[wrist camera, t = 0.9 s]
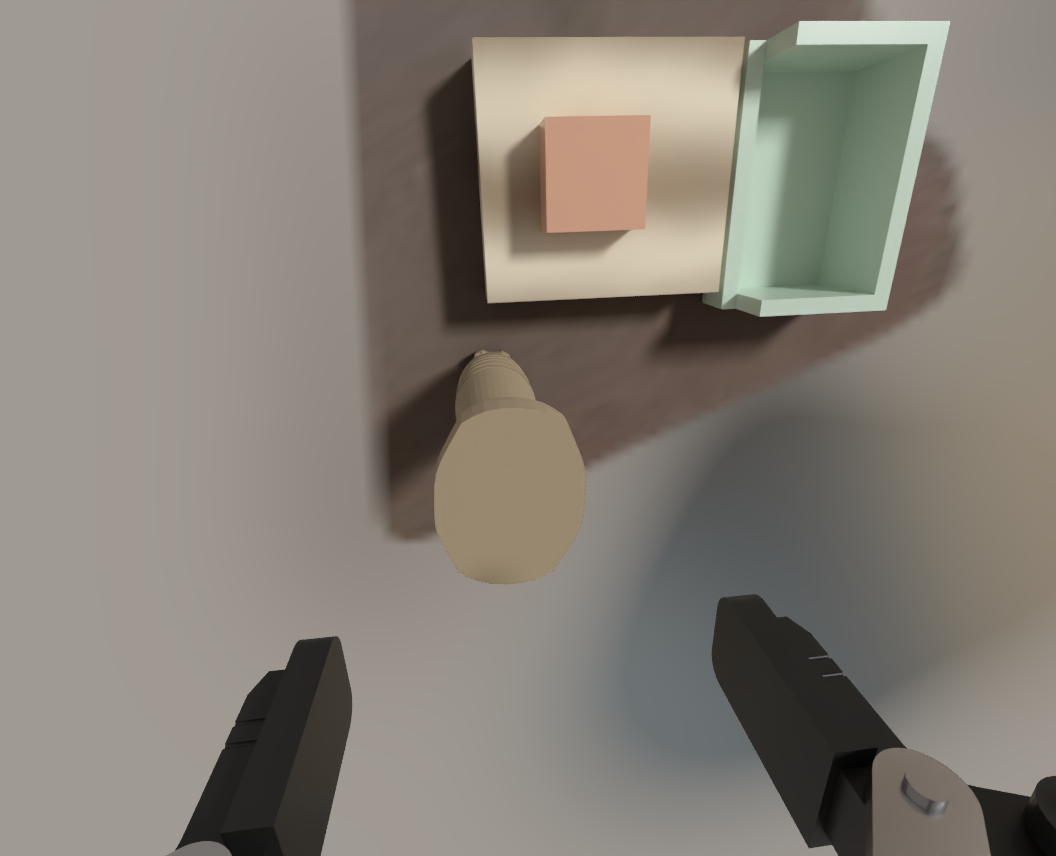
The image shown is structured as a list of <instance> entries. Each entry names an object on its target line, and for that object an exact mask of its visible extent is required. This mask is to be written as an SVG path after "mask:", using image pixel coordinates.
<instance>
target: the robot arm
mask: <svg viewBox="0 0 1056 856" xmlns="http://www.w3.org/2000/svg"><path fill="white" fill-rule="evenodd" d="M712 662H713V667H714V671H715V675H716V678H717V680H718V682H719V684H720V686H721V688H722V690H723V691H724V693H725V695H726V697H727V699H728V701H729V703H730V704H731V706H732V708H733V710H734V712H735V714H736V715H737V717H738V719H739V721H740V722H741V725H742V726H743V728H744V730H745V732H746V734H747V735H748V737H749V739H750V741H751V743H752V745H753V747H754V748H755V750H756V752H757V754H758V756H759V757H760V759H761V761H762V763H763V765H764V767H765V769H766V770H767V772H768V774H769V776H770V778H771V779H772V781H773V783H774V785H775V787H776V789H777V791H778V792H779V794H780V796H781V798H782V800H783V801H784V803H785V805H786V807H787V809H788V811H789V812H790V814H791V816H792V818H793V820H794V821H795V823H796V825H797V827H798V829H799V831H800V833H801V835H802V836H803V838H804V840H805V842H806V844H807V845H808V847H809V848H813V847H820V846H827V845H833V847H834V849H835V850H836V852H837V854H838V856H1056V776H1051V777H1046V778H1044V779H1042V780H1040V781H1039V783H1038V784H1037V785H1036V788H1035V790H1034V792H1033V794H1032V796H1031V797H1028V796H1023V795H1017V794H1012V793H1007V792H1001V791H996V790H991V789H985V788H980V787H975V786H971V785H967V784H966V783H965V782H964V781H963V780H962V779H961V778H960V777H959V776H958V775H957V774H956V773H954V772H953V771H952V770H951V769H949V768H948V767H947V766H945V765H944V764H942V763H941V762H939V761H937V760H935V759H934V758H932V757H930V756H928V755H925V754H923V753H920V752H917V751H914V750H910V749H907V748H906V747H905V746H904V745H903V744H902V743H901V741H900V740H899V739H898V738H897V737H896V735H895V734H894V733H893V732H892V731H891V729H890V728H889V727H888V726H887V725H886V723H885V722H884V721H883V720H882V719H881V717H880V716H879V715H878V714H877V713H876V711H875V710H874V709H873V708H872V707H871V705H870V704H869V703H868V702H867V700H866V699H865V698H864V697H863V696H862V695H861V693H860V692H859V691H858V690H857V688H856V687H855V686H854V685H853V684H852V683H851V681H850V680H849V679H848V678H847V676H843V673H842V670H841V669H840V668H839V667H838V666H837V664H836V663H835V662H834V661H833V660H832V659H829V657H828V654H827V652H826V651H825V650H824V649H823V648H822V646H821V645H820V644H819V643H818V642H817V640H816V639H815V638H814V637H813V636H812V634H811V633H809V632H808V631H806V630H805V629H804V628H802V627H801V626H799V625H798V624H796V623H795V622H793V621H792V620H791V619H789V618H788V617H779V618H777V617H776V616H775V614H774V613H773V612H772V610H771V609H770V608H769V607H768V605H767V604H766V603H765V602H764V600H763V599H762V598H761V597H760V596H758V595H756V594H752V595H742V596H734V597H733V596H732V597H724V598H721V599H720V600H719V602H718V607H717V615H716V623H715V630H714V638H713V646H712ZM351 716H352V693H351V687H350V683H349V679H348V673H347V669H346V664H345V659H344V655H343V651H342V646H341V642H340V639H339V638H338V637H337V636H335V637H325V638H316V639H306V640H299V641H298V642H297V643H296V645H295V647H294V649H293V651H292V654H291V656H290V659H289V662H288V664H287V666H286V669H285V670H277V671H269V672H268V673H267V674H266V675H265V676H264V677H263V679H262V680H261V681H260V682H259V683H258V684H257V685H256V686H255V687H254V688H253V690H252V691H251V692H250V693H249V694H248V695H247V698H246V699H245V702H244V704H243V706H242V708H241V711H240V713H239V715H238V717H237V719H236V721H235V722H236V724H235V727H233V728H232V730H231V732H230V734H229V737H228V739H227V741H226V743H225V745H226V746H225V749H223V750H222V752H221V754H220V757H219V759H218V761H217V763H216V765H215V767H214V769H213V772H212V774H211V776H210V778H209V781H208V783H207V785H206V787H205V789H204V791H203V793H202V796H201V798H200V800H199V802H198V804H197V807H196V809H195V811H194V813H193V816H192V818H191V820H190V822H189V824H188V826H187V829H186V831H185V833H184V835H183V837H182V839H181V841H180V843H179V845H178V847H177V848H176V850H175V851H174V852H172V853H171V854H169V855H167V856H321V851H322V846H323V843H324V838H325V834H326V829H327V825H328V821H329V816H330V812H331V807H332V803H333V799H334V794H335V790H336V785H337V781H338V776H339V772H340V768H341V764H342V759H343V755H344V750H345V746H346V741H347V737H348V733H349V728H350V723H351Z"/></svg>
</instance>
